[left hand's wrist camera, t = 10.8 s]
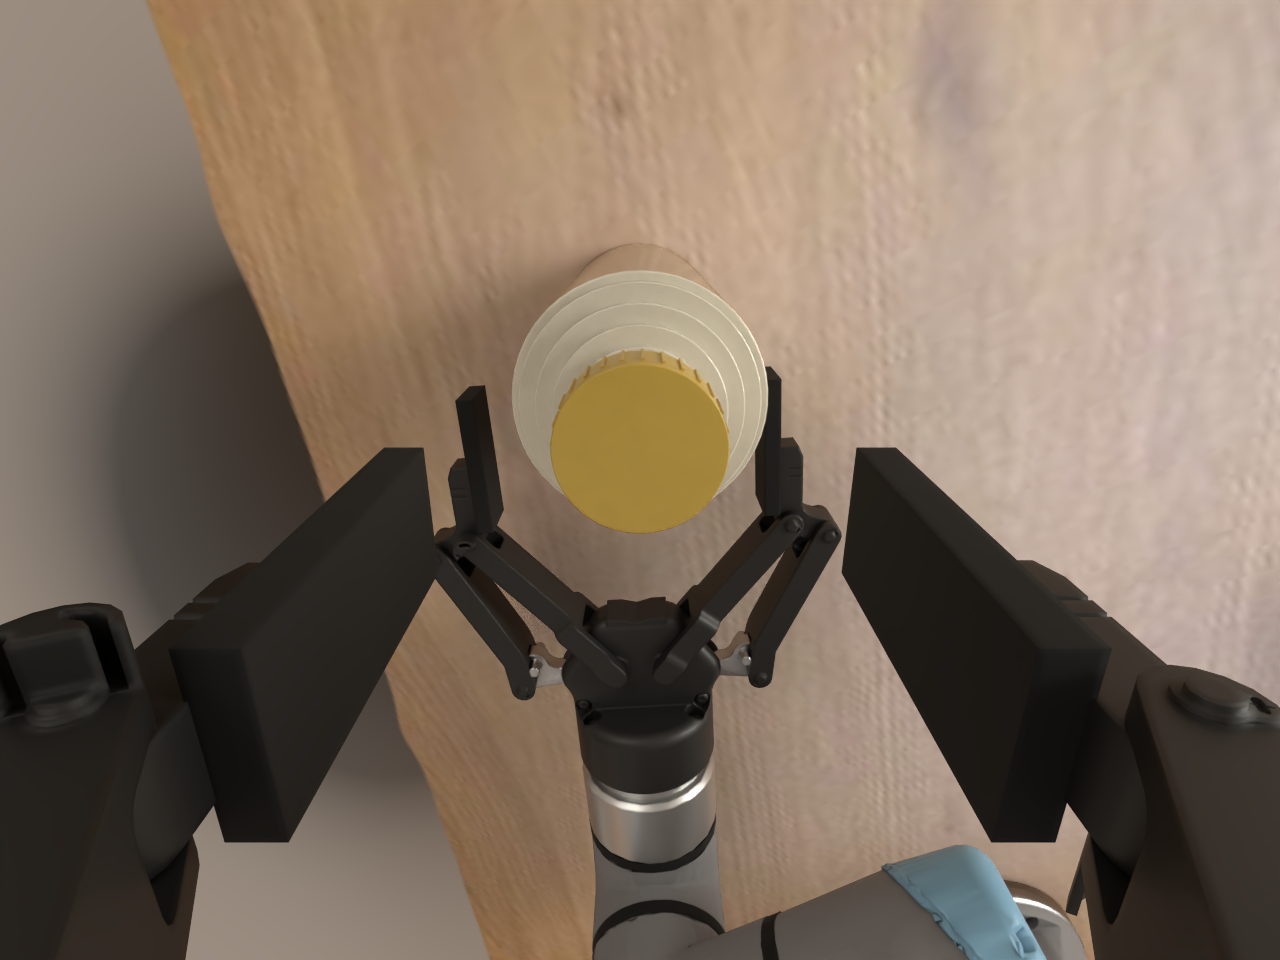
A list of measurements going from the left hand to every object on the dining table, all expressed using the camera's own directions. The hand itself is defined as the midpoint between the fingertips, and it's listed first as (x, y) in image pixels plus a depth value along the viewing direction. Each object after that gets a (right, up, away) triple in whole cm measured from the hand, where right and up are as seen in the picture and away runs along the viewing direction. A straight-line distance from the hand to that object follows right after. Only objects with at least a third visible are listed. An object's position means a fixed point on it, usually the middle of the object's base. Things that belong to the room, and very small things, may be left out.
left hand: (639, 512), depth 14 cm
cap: (0, +1, +4) cm, 4 cm away
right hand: (-1, +5, +18) cm, 19 cm away
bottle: (0, +9, +23) cm, 25 cm away
